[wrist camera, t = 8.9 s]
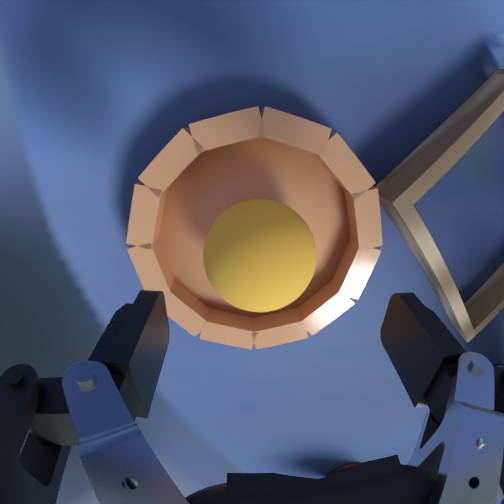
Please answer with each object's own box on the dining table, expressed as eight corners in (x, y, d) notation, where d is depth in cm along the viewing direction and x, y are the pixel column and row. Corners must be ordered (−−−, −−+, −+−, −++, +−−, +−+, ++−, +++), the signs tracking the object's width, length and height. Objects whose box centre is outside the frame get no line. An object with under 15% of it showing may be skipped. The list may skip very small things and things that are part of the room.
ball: (323, 236, 17) (354, 282, 12) (255, 293, 19) (260, 353, 14) (259, 167, 16) (267, 188, 11) (189, 235, 17) (168, 282, 12)
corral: (546, 215, 18) (565, 226, 16) (451, 323, 22) (467, 343, 20) (496, 69, 13) (522, 68, 10) (370, 190, 17) (392, 203, 15)
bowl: (400, 234, 19) (418, 248, 16) (251, 353, 22) (252, 376, 20) (260, 64, 14) (263, 53, 12) (102, 231, 18) (85, 246, 15)
